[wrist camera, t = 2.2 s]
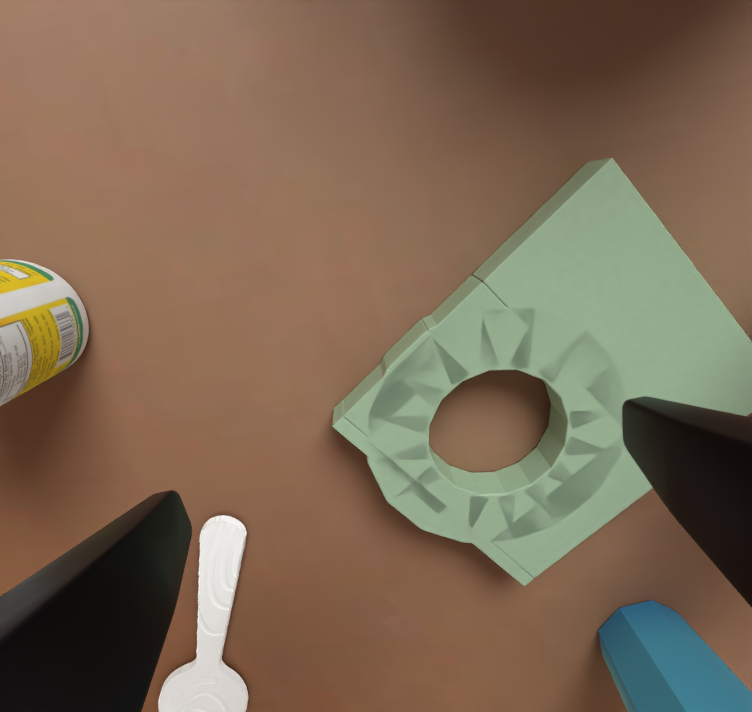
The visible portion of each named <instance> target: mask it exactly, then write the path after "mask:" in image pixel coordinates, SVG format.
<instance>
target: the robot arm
mask: <svg viewBox="0 0 752 712" xmlns="http://www.w3.org/2000/svg"><path fill="white" fill-rule="evenodd" d="M622 431H623V442H624V445H625V447H626V449H627V451H628V452H629V454H630V455H631V457H632V458H633V459H634V461H635V462H636V464H637V465H638V467H639V468H640V470H641V471H642V473H643V474H644V475H645V477H646V478H647V480H648V481H649V483H650V484H651V486H652V487H653V488H654V490H655V491H656V493H657V494H658V496H659V497H660V499H661V500H662V502H663V503H664V504H665V506H666V507H667V508H668V510H669V511H670V512H671V514H672V515H673V516H674V517H675V518H676V520H677V521H678V522H679V523H680V524H681V526H682V527H683V528H684V529H685V530H686V531H687V533H688V534H689V535H690V536H691V537H692V538H693V540H694V541H695V542H696V543H697V544H698V545H699V547H700V548H701V549H702V550H703V551H704V552H705V554H706V555H707V556H708V557H709V558H710V559H711V561H712V562H713V563H714V564H715V565H716V566H717V568H718V569H719V570H720V571H721V572H722V573H723V575H724V576H725V577H726V578H727V579H728V580H729V582H730V583H731V584H732V585H733V586H734V587H735V589H736V590H737V591H738V592H739V593H740V594H741V596H742V597H743V598H744V599H745V600H746V601H747V603H748V604H749V605H750V606H751V607H752V417H748V416H743V415H738V414H733V413H728V412H723V411H718V410H713V409H708V408H703V407H698V406H693V405H688V404H683V403H678V402H673V401H668V400H663V399H658V398H653V397H648V396H642V397H637V398H632V399H628V400H626V401H625V402H624V403H623V406H622ZM191 536H192V526H191V522H190V520H189V517H188V515H187V512H186V510H185V507H184V505H183V502H182V500H181V497H180V496H179V494H178V493H177V492H176V491H174V490H170V491H165V492H160V493H156V494H153V495H152V496H150V497H149V498H147V499H146V500H144V501H143V502H141V503H140V504H138V505H137V506H135V507H134V508H132V509H131V510H129V511H128V512H126V513H125V514H123V515H122V516H120V517H119V518H117V519H116V520H114V521H113V522H111V523H110V524H108V525H107V526H105V527H104V528H102V529H101V530H99V531H98V532H96V533H95V534H93V535H92V536H90V537H89V538H87V539H86V540H84V541H83V542H81V543H80V544H78V545H77V546H75V547H74V548H72V549H71V550H69V551H68V552H66V553H65V554H63V555H62V556H60V557H59V558H57V559H56V560H54V561H53V562H51V563H50V564H48V565H47V566H45V567H44V568H42V569H41V570H39V571H38V572H36V573H35V574H33V575H32V576H30V577H29V578H27V579H26V580H24V581H23V582H21V583H20V584H18V585H17V586H15V587H14V588H12V589H11V590H9V591H8V592H7V593H5V594H4V595H2V596H1V597H0V712H141V711H142V708H143V705H144V702H145V699H146V696H147V693H148V690H149V687H150V684H151V681H152V678H153V675H154V672H155V669H156V666H157V663H158V660H159V657H160V654H161V651H162V648H163V645H164V642H165V638H166V635H167V632H168V629H169V626H170V623H171V620H172V617H173V614H174V610H175V607H176V603H177V599H178V595H179V591H180V586H181V582H182V577H183V573H184V568H185V563H186V559H187V554H188V550H189V545H190V541H191Z"/></svg>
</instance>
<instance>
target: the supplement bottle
mask: <svg viewBox="0 0 752 712" xmlns="http://www.w3.org/2000/svg"><path fill="white" fill-rule="evenodd" d="M88 334H89V323H88V317H87V314H86V310H85V308H84V305H83V303H82V301H81V300H80V298H79V296H78V295H77V293H76V292H75V291H74V289H73V288H72V287H71V286H70V285H69V284H68V283H67V282H66V281H65V280H64V279H62V278H61V277H60V276H59V275H57V274H56V273H54V272H53V271H51V270H49V269H47V268H44V267H42V266H39V265H37V264H34V263H30V262H26V261H21V260H12V259H8V260H0V406H2V405H3V404H5V403H7V402H9V401H11V400H12V399H14V398H16V397H18V396H19V395H21V394H23V393H25V392H26V391H28V390H30V389H31V388H33V387H35V386H37V385H39V384H40V383H42V382H44V381H46V380H47V379H49V378H51V377H53V376H55V375H57V374H58V373H60V372H61V371H63V370H65V369H66V368H68V367H69V366H71V365H72V364H73V363H74V362H75V361H76V360H77V359H78V358H79V357H80V355H81V354H82V352H83V350H84V348H85V346H86V343H87V339H88Z"/></svg>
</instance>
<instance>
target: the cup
mask: <svg viewBox="0 0 752 712" xmlns="http://www.w3.org/2000/svg"><path fill="white" fill-rule="evenodd" d="M598 631H599V638H600V646H601V653H602V655H603V658H604V660H605V662H606V664H607V667H608V669H609V671H610V673H611V676H612V678H613V680H614V682H615V685H616V687H617V689H618V691H619V694H620V696H621V698H622V700H623V703H624V705H625V707H626V709H627V712H752V693H751V691H750V690H749V689H748V688H747V687H746V686H745V685H744V684H743V683H742V682H741V681H740V680H739V679H738V677H737V676H736V675H735V674H734V673H733V672H732V671H731V670H730V669H729V668H728V667H727V666H726V664H725V663H724V662H723V661H722V660H721V659H720V658H719V657H718V656H717V655H716V654H715V653H714V652H713V650H712V649H711V648H710V647H709V646H708V645H707V644H706V643H705V642H704V641H703V640H702V639H701V637H700V636H699V635H698V634H697V633H696V632H695V631H694V630H693V629H692V628H691V627H690V626H689V624H688V623H687V622H686V621H685V620H684V619H683V618H682V617H681V616H680V615H679V614H678V613H677V612H676V611H674V610H672V609H670V608H668V607H666V606H664V605H662V604H660V603H657V602H655V601H653V600H650V601H646V602H642V603H637V604H633V605H629V606H625V607H621V608H619V609H618V610H617V611H616V612H615V613H614V614H613V615H612V616H611V617H610V618H609V619H608V620H607V621H606V623H605V624H604V625H603V626H602V627H601V628H600V629H599V630H598Z"/></svg>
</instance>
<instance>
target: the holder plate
mask: <svg viewBox="0 0 752 712" xmlns="http://www.w3.org/2000/svg"><path fill="white" fill-rule="evenodd" d="M472 275H473V276H472ZM472 275H471V276H470V277H468V278H467V279H466V280H465V281H464V282H463V283H462V284H461V285H460V286H459V287H458V288H457V289H456V290H455V291H454V292H453V293H452V294H451V295H450V296H449V297H448V298H447V299H446V300H445V301H444V302H443V303H442V304H441V305H440V306H439V307H438V308H437V309H436V310H435V311H433V312H432V313H431V314H430V315H428V316H426V317H424V318H422V320H419V321H418V322H417V323H416V324H415V325H414V326H413V327H412V328H411V329H410V330H409V331H408V332H407V333H406V334H405V335H404V336H403V337H402V338H401V339H400V340H399V341H398V342H396V343H395V344H394V345H393V346H392V347H391V348H390V349H389V350H388V351H387V352H386V353H385V355H384V356H383V358H382V360H381V363H380V364H379V365H378V366H377V367H376V368H375V369H374V370H373V371H372V372H371V373H370V374H369V375H368V376H367V377H366V378H365V379H363V380H362V381H361V382H360V383H359V384H358V385H357V386H356V387H355V388H354V389H353V390H352V391H351V392H350V393H349V394H348V395H347V396H346V397H345V398H344V399H343V400H342V401H341V402H340V403H339V404H338V405H337V406H336V407H334V412H333V422H332V427H333V428H334V429H335V430H337V431H338V432H339V433H340V434H341V435H343V436H344V437H345V438H346V439H347V440H349V441H350V442H351V443H352V444H353V445H355V446H356V447H357V448H358V449H359V450H361V451H362V452H363V453H364V454H365V455H367V461H368V465H369V467H370V469H371V471H372V473H373V475H374V477H375V479H376V481H377V483H378V485H379V487H380V489H381V491H382V493H383V495H384V497H385V499H386V501H387V502H388V503H389V504H390V505H392V506H393V507H394V508H395V509H397V510H398V511H399V512H400V513H402V514H403V515H404V516H405V517H406V518H408V519H409V520H410V521H411V522H413V523H414V524H415V525H416V526H418V527H419V528H420V529H422V530H424V531H427V532H430V533H434V534H437V535H440V536H443V537H447V538H450V539H453V540H456V541H460V542H463V543H465V542H466V543H472V544H474V545H475V546H476V547H477V548H478V549H480V550H481V551H482V552H483V553H484V554H486V555H487V556H488V557H489V558H490V559H492V560H493V561H494V562H495V563H496V564H498V565H499V566H500V567H501V568H502V569H504V570H505V571H506V572H507V573H509V574H510V575H511V576H512V577H513V578H515V579H516V580H517V581H518V582H519V583H521V584H522V585H523V586H525V585H526V584H528V583H529V582H530V581H532V580H533V579H534V578H535V577H537V576H538V575H539V574H541V573H542V572H543V571H545V570H546V569H547V568H548V567H550V566H551V565H552V564H554V563H555V562H556V561H558V560H559V559H560V558H562V557H563V556H564V555H566V554H567V553H568V552H569V551H571V550H572V549H573V548H575V547H576V546H577V545H579V544H580V543H581V542H583V541H584V540H585V539H586V538H588V537H589V536H590V535H592V534H593V533H594V532H596V531H597V530H598V529H600V528H601V527H602V526H604V525H605V524H606V523H607V522H609V521H610V520H611V519H613V518H614V517H615V516H617V515H618V514H619V513H621V512H622V511H623V510H624V509H626V508H627V507H628V506H630V505H631V504H632V503H634V502H635V501H636V500H638V499H639V498H640V497H641V496H643V495H644V494H645V493H647V492H648V491H649V490H651V489H652V488H653V487H652V486H651V484H650V483H649V481H648V480H647V478H646V477H645V475H644V474H643V473H642V471H641V470H640V468H639V467H638V465H637V464H636V462H635V461H634V459H633V458H632V457H631V455H630V454H629V452H628V451H627V449H626V447H625V445H624V442H623V431H622V406H623V403H624V402H625V401H626V400H628V399H632V398H637V397H642V396H648V397H653V398H658V399H663V400H668V401H673V402H678V403H683V404H688V405H693V406H698V407H703V408H708V409H713V410H718V411H723V412H728V413H733V414H738V415H743V416H748V415H749V414H750V413H751V412H752V341H751V340H750V339H749V337H748V336H747V335H746V333H745V332H744V331H743V330H742V328H741V327H740V326H739V324H738V323H737V322H736V320H735V319H734V318H733V316H732V315H731V314H730V312H729V311H728V310H727V308H726V307H725V306H724V304H723V303H722V302H721V301H720V299H719V298H718V297H717V295H716V294H715V293H714V291H713V290H712V289H711V287H710V286H709V285H708V283H707V282H706V281H705V279H704V278H703V277H702V275H701V274H700V273H699V272H698V270H697V269H696V268H695V266H694V265H693V264H692V262H691V261H690V260H689V258H688V257H687V256H686V254H685V253H684V252H683V250H682V249H681V248H680V246H679V245H678V244H677V243H676V241H675V240H674V239H673V237H672V236H671V235H670V233H669V232H668V231H667V229H666V228H665V227H664V225H663V224H662V223H661V221H660V220H659V219H658V217H657V216H656V215H655V214H654V212H653V211H652V210H651V208H650V207H649V206H648V204H647V203H646V202H645V200H644V199H643V198H642V196H641V195H640V194H639V192H638V191H637V190H636V188H635V187H634V186H633V185H632V183H631V182H630V181H629V179H628V178H627V177H626V175H625V174H624V173H623V171H622V170H621V169H620V167H619V166H618V165H617V163H616V162H615V161H614V159H613V158H607V159H601V160H595V161H589V162H587V163H586V164H585V165H584V166H583V167H582V168H581V169H580V170H579V171H578V172H576V173H575V174H574V175H573V176H572V177H571V178H570V179H569V180H568V181H567V182H566V183H565V184H564V185H563V186H562V187H561V188H560V189H559V190H558V191H557V192H556V193H555V194H554V195H553V196H552V197H551V198H550V199H549V200H548V201H547V202H546V203H545V204H544V205H543V206H541V207H540V208H539V209H538V210H537V211H536V212H535V213H534V214H533V215H532V216H531V217H530V218H529V219H528V220H527V221H526V222H525V223H524V224H523V225H522V226H521V227H520V228H519V229H518V230H517V231H516V232H515V233H514V234H513V235H512V236H511V237H510V238H509V239H508V240H506V241H505V242H504V243H503V244H502V245H501V246H500V247H499V248H498V249H497V250H496V251H495V252H494V253H493V254H492V255H491V256H490V257H489V258H488V259H487V260H486V261H485V262H484V263H483V264H482V265H481V266H480V267H479V268H478V269H477V270H476V271H475V272H474V273H473V274H472ZM489 370H519V371H521V372H524V373H527V374H529V375H532V376H535V377H537V378H540V379H542V380H543V382H544V383H545V386H546V389H547V392H548V395H549V398H550V401H551V408H550V416H549V424H548V427H547V429H546V431H545V433H544V434H543V436H542V438H541V440H540V441H539V443H538V445H537V447H536V448H535V449H534V450H533V451H531V452H530V453H529V454H528V455H527V456H525V457H524V458H523V459H522V460H521V461H519V462H518V463H516V464H513V465H511V466H508V467H506V468H503V469H500V470H498V471H495V472H476V473H471V472H468V471H465V470H462V469H459V468H456V467H453V466H450V465H448V464H447V463H446V462H444V461H443V460H442V459H441V458H440V457H439V456H438V455H436V454H435V453H434V452H433V451H432V449H431V447H430V445H429V425H430V423H431V421H432V419H433V417H434V415H435V412H436V410H437V408H438V406H439V404H440V402H441V400H442V399H443V398H445V397H446V396H447V395H448V394H449V393H450V392H451V391H452V390H453V389H454V388H455V387H457V386H458V385H459V384H460V383H461V382H462V381H465V380H467V379H470V378H472V377H475V376H477V375H479V374H482V373H484V372H487V371H489ZM533 577H534V578H533Z"/></svg>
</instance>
